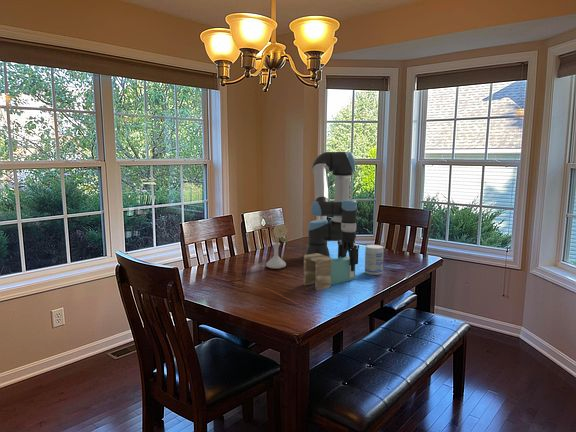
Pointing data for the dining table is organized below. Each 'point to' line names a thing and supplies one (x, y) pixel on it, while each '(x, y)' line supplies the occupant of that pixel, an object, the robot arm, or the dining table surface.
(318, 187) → the robot arm
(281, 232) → the flower in vase
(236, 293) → the dining table surface
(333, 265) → the beige-capped teal block
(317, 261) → the tunnel
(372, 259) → the supplement tub
